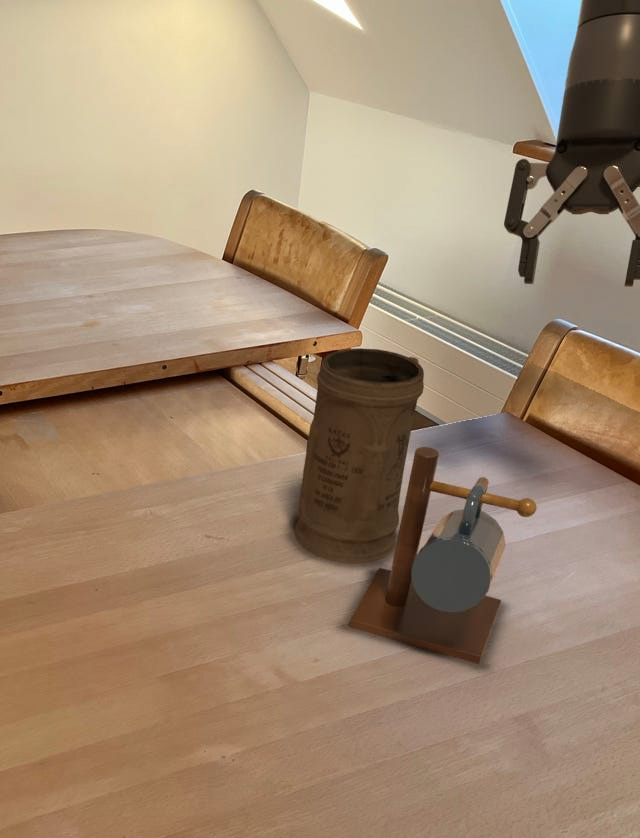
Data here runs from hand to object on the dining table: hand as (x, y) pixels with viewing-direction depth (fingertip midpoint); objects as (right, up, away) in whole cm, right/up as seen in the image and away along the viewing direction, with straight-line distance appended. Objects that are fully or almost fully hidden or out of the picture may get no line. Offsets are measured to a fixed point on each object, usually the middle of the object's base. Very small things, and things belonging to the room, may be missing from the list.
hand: (577, 284), depth 89 cm
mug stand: (-13, -31, +3) cm, 34 cm away
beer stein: (-17, -21, +17) cm, 32 cm away
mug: (-14, -26, -9) cm, 31 cm away
